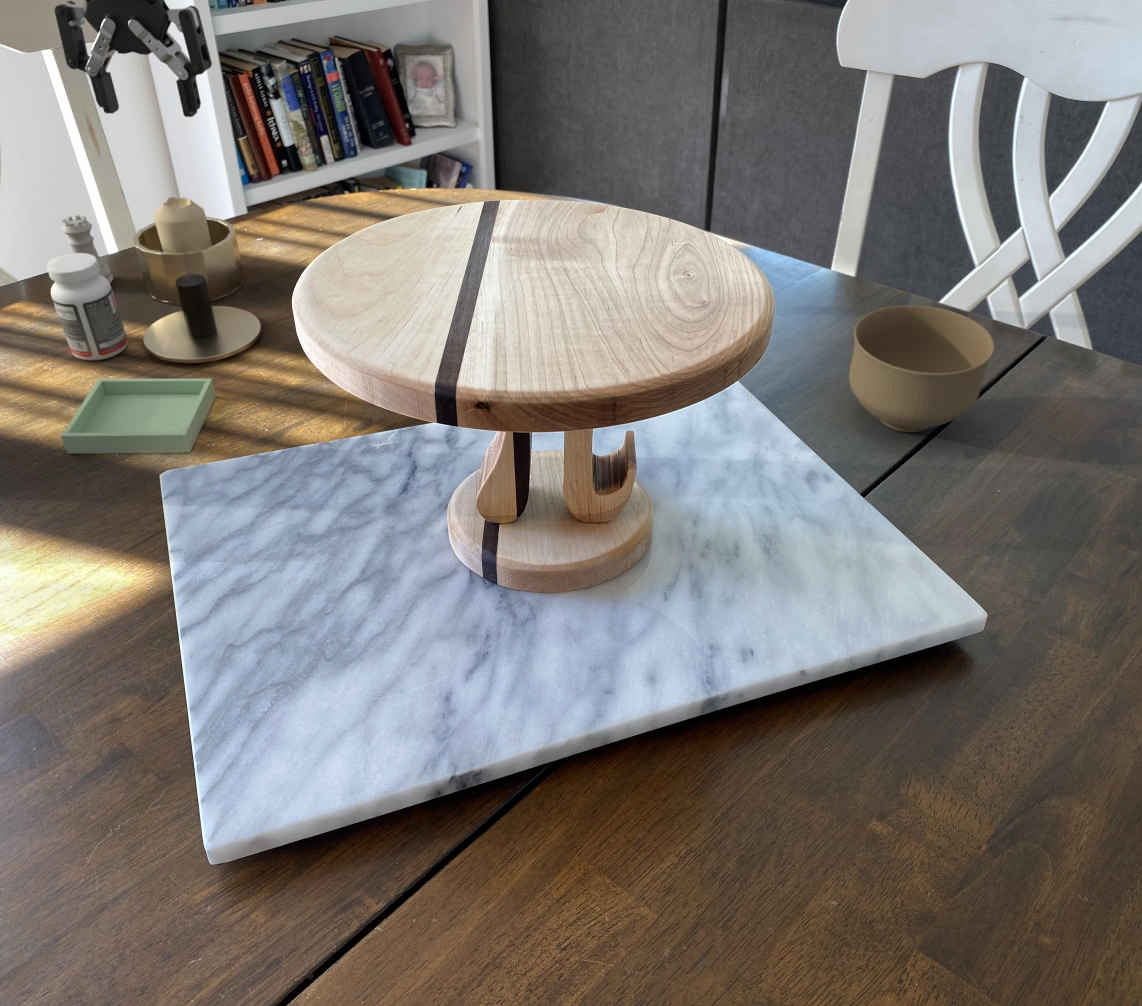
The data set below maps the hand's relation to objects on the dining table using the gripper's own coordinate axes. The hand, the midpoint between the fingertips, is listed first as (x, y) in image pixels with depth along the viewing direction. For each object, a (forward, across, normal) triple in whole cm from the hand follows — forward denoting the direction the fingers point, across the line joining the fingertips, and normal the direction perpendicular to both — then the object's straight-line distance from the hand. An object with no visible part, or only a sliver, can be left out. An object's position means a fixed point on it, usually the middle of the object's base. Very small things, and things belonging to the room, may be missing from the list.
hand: (151, 113), depth 100 cm
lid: (+20, +6, -13) cm, 24 cm away
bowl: (+20, +80, -23) cm, 85 cm away
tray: (+20, +6, -29) cm, 36 cm away
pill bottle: (+20, -4, -16) cm, 26 cm away
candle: (+20, 0, +1) cm, 20 cm away
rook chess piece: (+20, -12, 0) cm, 24 cm away
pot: (+20, 0, +1) cm, 20 cm away
